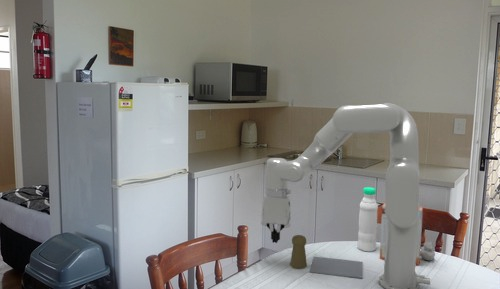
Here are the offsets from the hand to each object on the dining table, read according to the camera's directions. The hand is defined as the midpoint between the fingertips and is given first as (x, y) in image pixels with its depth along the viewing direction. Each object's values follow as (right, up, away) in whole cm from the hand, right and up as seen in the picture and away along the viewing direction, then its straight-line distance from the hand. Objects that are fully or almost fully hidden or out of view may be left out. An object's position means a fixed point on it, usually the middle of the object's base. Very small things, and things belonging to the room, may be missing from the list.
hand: (275, 241), depth 155 cm
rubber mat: (+22, -9, -3) cm, 24 cm away
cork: (+8, -9, -1) cm, 12 cm away
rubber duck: (+58, -8, +6) cm, 59 cm away
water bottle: (+38, -7, +16) cm, 41 cm away
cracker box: (+47, -8, +5) cm, 48 cm away
